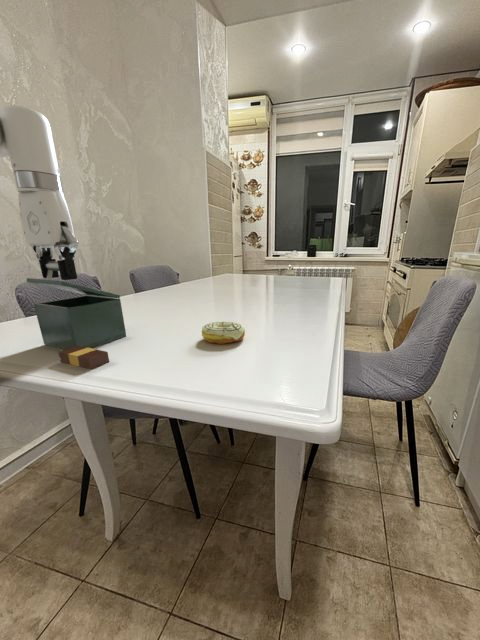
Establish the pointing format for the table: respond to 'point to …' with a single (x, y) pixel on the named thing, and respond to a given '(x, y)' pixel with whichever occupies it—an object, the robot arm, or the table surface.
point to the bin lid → (67, 286)
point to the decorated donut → (223, 332)
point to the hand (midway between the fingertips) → (60, 277)
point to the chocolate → (84, 357)
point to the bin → (80, 321)
